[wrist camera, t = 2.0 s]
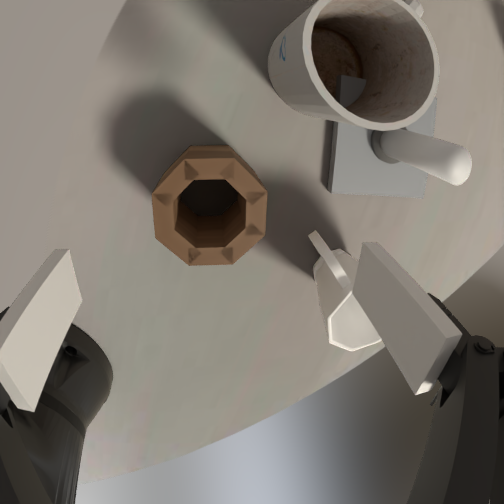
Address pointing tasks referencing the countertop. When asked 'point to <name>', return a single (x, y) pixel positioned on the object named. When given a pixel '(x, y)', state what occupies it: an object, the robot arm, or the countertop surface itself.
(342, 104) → the peg stand with ring
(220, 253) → the collar
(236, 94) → the countertop surface
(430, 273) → the countertop surface
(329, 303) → the cup
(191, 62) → the countertop surface
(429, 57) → the mug
